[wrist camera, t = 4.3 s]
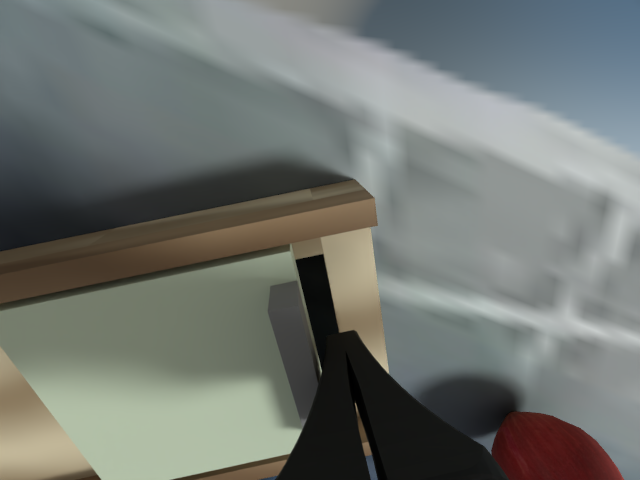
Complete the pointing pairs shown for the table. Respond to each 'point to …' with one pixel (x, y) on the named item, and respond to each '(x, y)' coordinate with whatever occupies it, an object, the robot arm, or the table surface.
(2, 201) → the table surface
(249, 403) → the lid
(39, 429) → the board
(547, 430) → the onion
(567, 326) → the table surface
